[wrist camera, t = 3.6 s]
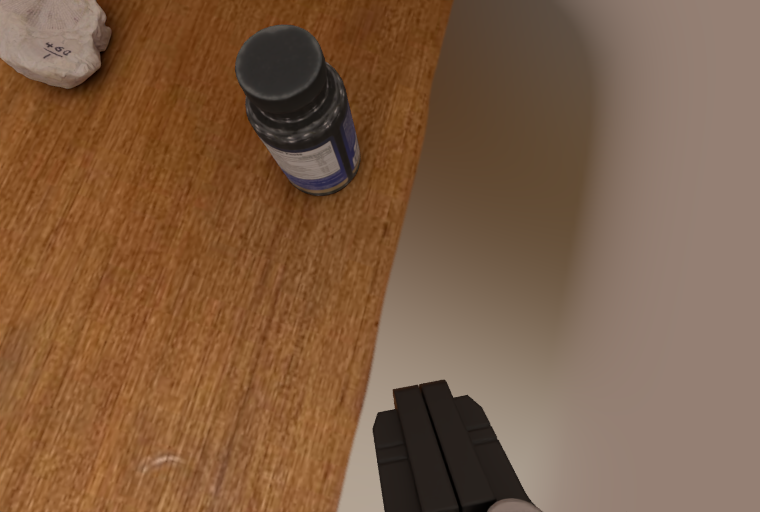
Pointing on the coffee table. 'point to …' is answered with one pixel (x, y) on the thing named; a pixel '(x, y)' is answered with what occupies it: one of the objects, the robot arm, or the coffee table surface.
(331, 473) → the coffee table surface
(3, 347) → the coffee table surface
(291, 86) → the pill bottle
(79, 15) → the fossil
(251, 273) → the coffee table surface
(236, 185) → the coffee table surface
